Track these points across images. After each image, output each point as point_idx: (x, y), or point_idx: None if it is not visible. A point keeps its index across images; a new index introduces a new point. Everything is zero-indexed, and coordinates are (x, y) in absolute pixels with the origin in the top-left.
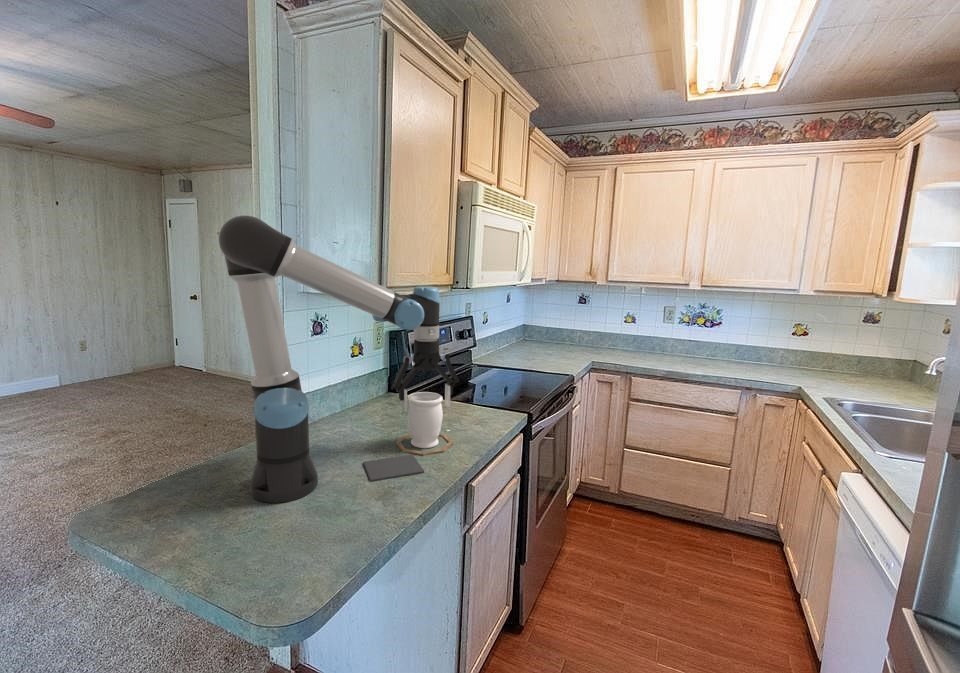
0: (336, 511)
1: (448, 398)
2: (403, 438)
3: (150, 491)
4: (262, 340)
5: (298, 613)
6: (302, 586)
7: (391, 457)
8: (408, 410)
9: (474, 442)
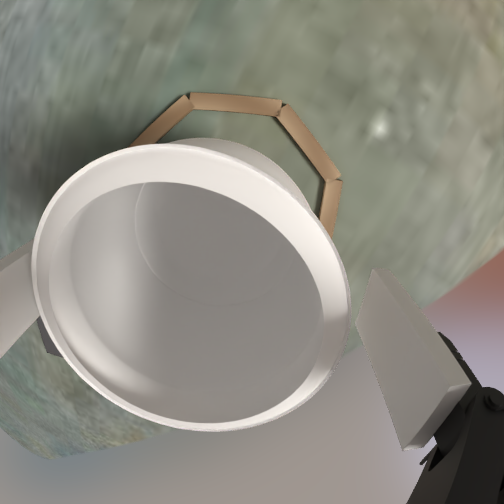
0: (21, 386)
1: (375, 364)
2: (153, 141)
3: None
4: None
5: (39, 454)
6: (32, 442)
7: None
8: (85, 245)
9: None
